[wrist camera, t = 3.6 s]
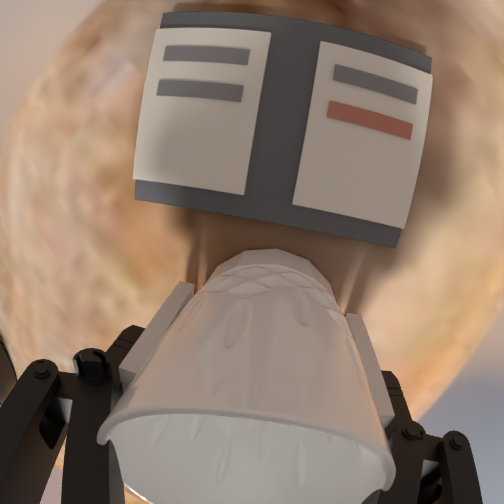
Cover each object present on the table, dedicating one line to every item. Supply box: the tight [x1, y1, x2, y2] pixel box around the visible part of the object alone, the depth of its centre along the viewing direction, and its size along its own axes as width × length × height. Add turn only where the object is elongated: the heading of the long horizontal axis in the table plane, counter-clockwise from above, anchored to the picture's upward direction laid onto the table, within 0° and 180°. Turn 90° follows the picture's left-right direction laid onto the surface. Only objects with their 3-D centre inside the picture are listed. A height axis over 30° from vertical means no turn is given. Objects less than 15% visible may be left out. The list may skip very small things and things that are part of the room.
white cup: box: [97, 248, 396, 504], centre depth 11 cm, size 8×8×10 cm
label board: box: [133, 11, 433, 248], centre depth 11 cm, size 12×9×1 cm
